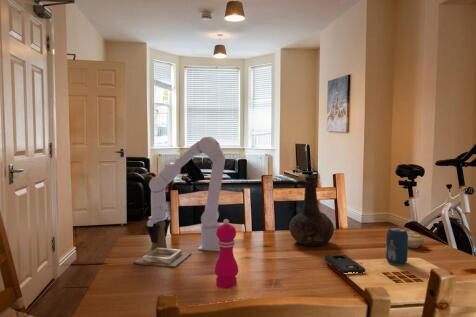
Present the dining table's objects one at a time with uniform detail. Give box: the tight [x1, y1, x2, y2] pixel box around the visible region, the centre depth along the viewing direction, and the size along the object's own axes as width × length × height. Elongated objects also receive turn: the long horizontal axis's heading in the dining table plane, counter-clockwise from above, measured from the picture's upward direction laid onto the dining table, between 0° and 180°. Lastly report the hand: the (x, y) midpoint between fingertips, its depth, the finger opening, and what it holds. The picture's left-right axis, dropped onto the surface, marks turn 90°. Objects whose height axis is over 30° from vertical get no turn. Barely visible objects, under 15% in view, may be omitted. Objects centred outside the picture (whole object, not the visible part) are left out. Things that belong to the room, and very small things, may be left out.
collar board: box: [133, 248, 192, 269], centre depth 136 cm, size 16×14×2 cm
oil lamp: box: [406, 230, 425, 249], centre depth 153 cm, size 11×14×5 cm
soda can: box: [385, 226, 409, 266], centre depth 131 cm, size 7×7×12 cm
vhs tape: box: [324, 254, 366, 274], centre depth 128 cm, size 14×8×2 cm, turn 11°
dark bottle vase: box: [288, 175, 335, 247], centre depth 154 cm, size 18×18×28 cm
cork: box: [151, 220, 168, 250], centre depth 149 cm, size 6×6×11 cm
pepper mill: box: [214, 218, 239, 289], centre depth 113 cm, size 7×7×20 cm
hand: (159, 239), depth 150 cm, fingers open, 7 cm apart
